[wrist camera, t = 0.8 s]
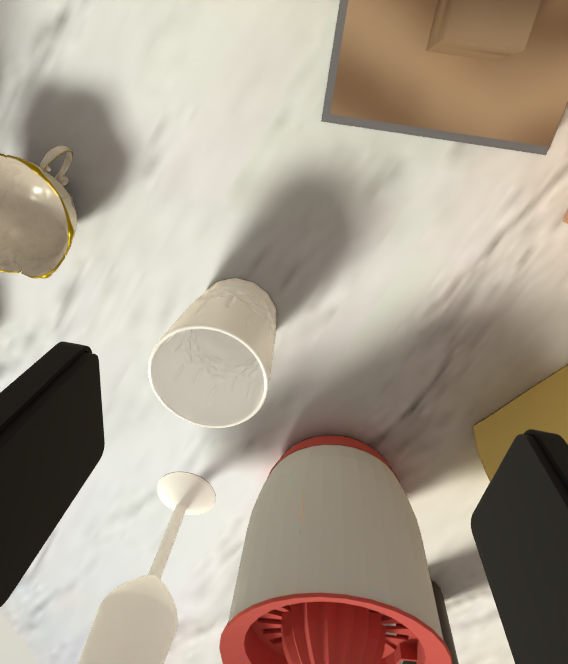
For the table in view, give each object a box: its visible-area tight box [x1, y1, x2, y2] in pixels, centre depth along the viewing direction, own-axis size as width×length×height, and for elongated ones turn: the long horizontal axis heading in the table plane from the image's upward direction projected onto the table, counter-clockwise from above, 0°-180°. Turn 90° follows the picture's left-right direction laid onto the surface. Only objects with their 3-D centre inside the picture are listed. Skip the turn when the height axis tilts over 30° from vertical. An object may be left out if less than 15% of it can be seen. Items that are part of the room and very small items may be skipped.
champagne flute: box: [78, 472, 216, 664], centre depth 36 cm, size 7×7×24 cm
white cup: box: [148, 278, 276, 428], centre depth 32 cm, size 8×8×10 cm
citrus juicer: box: [220, 435, 453, 664], centre depth 35 cm, size 16×17×20 cm
